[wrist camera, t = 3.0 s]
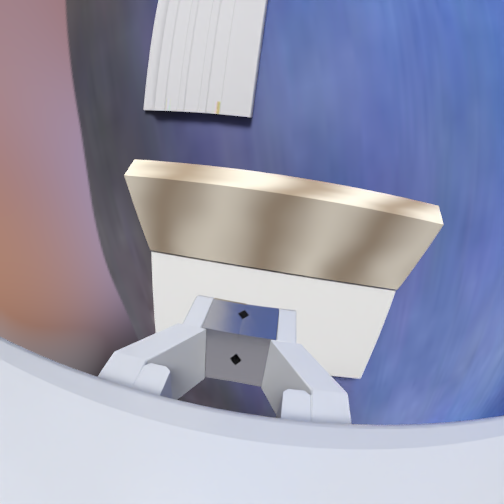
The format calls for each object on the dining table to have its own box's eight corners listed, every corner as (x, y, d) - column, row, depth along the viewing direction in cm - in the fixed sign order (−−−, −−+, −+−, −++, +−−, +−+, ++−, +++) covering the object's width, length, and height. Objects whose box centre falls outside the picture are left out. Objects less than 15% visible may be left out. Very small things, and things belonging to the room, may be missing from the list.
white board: (391, 281, 25) (395, 290, 24) (358, 367, 30) (360, 378, 28) (159, 244, 27) (151, 251, 26) (162, 334, 31) (156, 344, 30)
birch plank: (438, 205, 18) (443, 224, 17) (396, 272, 25) (397, 289, 24) (134, 159, 20) (124, 175, 19) (156, 234, 26) (150, 250, 25)
